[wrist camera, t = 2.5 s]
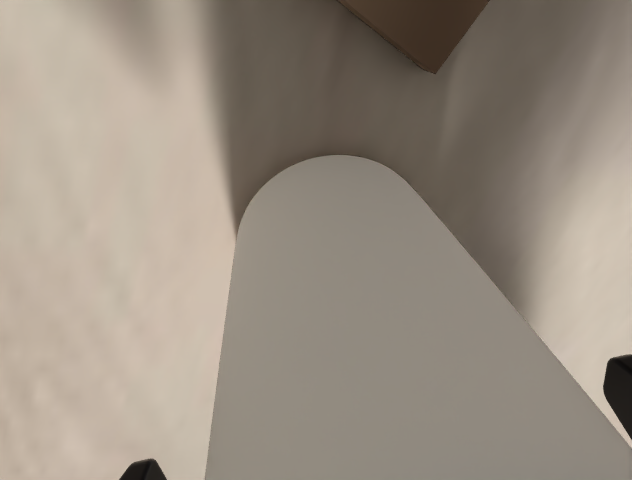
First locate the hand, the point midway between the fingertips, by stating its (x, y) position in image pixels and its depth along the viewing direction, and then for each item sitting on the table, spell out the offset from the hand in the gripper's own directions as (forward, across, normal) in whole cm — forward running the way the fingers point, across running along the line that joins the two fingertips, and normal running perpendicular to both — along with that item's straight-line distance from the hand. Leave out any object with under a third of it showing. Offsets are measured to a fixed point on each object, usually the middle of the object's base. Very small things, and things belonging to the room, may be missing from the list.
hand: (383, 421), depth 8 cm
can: (+8, 0, 0) cm, 8 cm away
